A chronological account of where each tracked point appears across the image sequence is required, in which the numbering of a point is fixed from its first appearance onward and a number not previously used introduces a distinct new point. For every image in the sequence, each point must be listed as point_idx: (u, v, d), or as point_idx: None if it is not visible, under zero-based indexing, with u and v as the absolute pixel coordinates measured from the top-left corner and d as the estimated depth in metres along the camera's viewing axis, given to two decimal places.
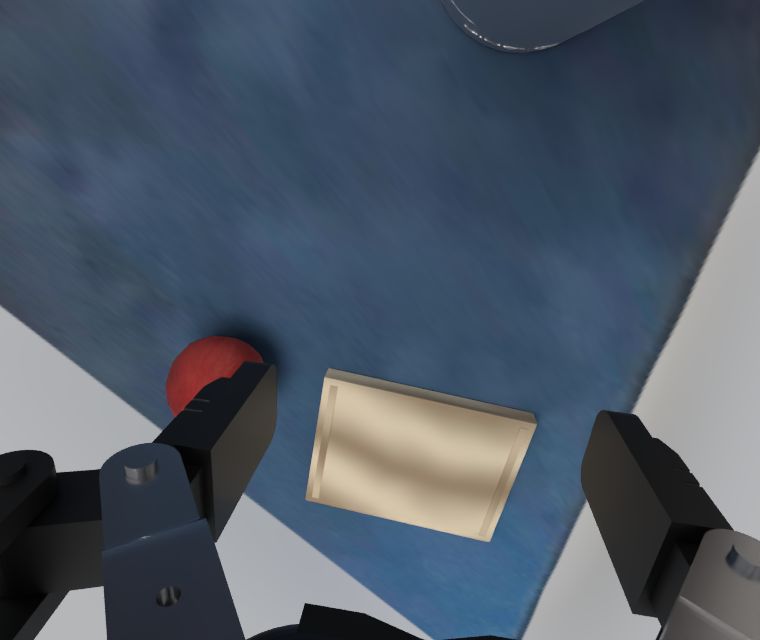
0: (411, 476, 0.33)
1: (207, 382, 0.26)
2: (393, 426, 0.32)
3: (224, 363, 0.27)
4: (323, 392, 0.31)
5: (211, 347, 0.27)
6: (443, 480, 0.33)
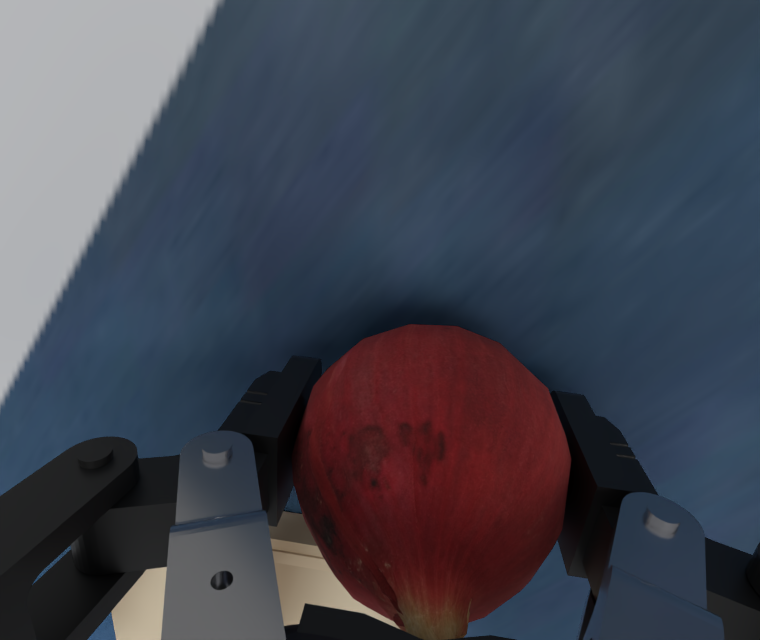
0: None
1: (523, 581, 0.08)
2: None
3: None
4: None
5: None
6: None
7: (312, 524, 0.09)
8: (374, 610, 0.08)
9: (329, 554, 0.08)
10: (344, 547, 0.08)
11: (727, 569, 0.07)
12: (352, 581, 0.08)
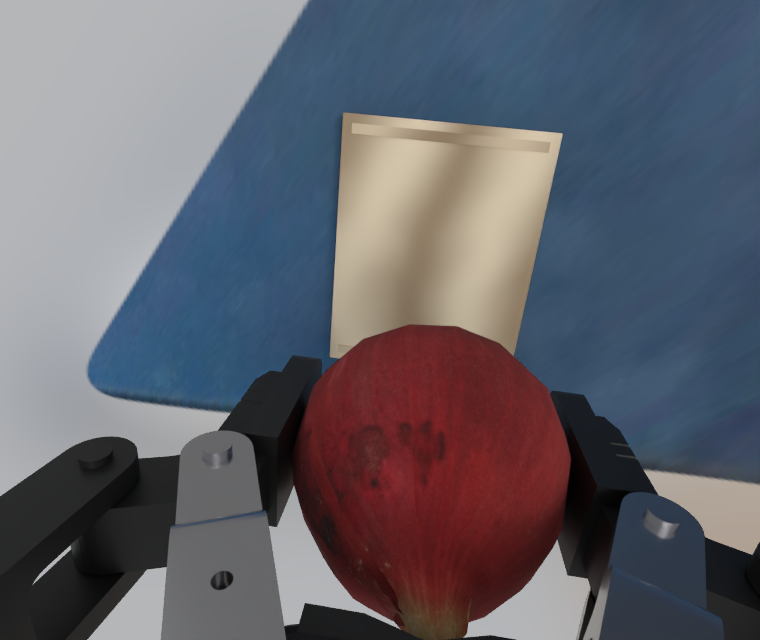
0: (414, 258, 0.27)
1: (523, 580, 0.08)
2: (490, 229, 0.26)
3: None
4: (537, 133, 0.24)
5: None
6: (415, 296, 0.27)
7: (312, 524, 0.09)
8: (374, 610, 0.08)
9: (329, 554, 0.08)
10: (345, 547, 0.08)
11: (727, 569, 0.07)
12: (352, 581, 0.08)
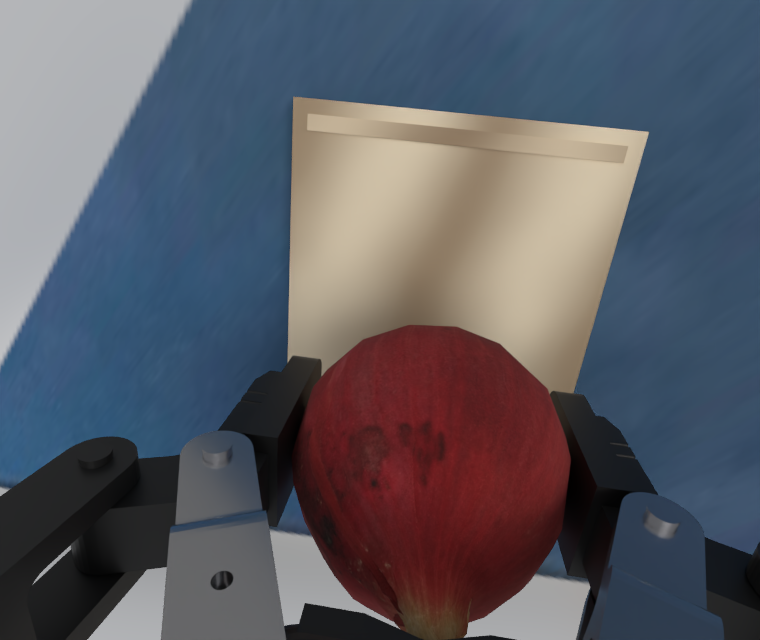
0: (407, 321, 0.18)
1: (523, 581, 0.08)
2: (525, 281, 0.16)
3: None
4: (607, 131, 0.14)
5: None
6: None
7: (312, 525, 0.09)
8: (374, 610, 0.08)
9: (329, 554, 0.08)
10: (345, 547, 0.08)
11: (727, 569, 0.07)
12: (352, 581, 0.08)
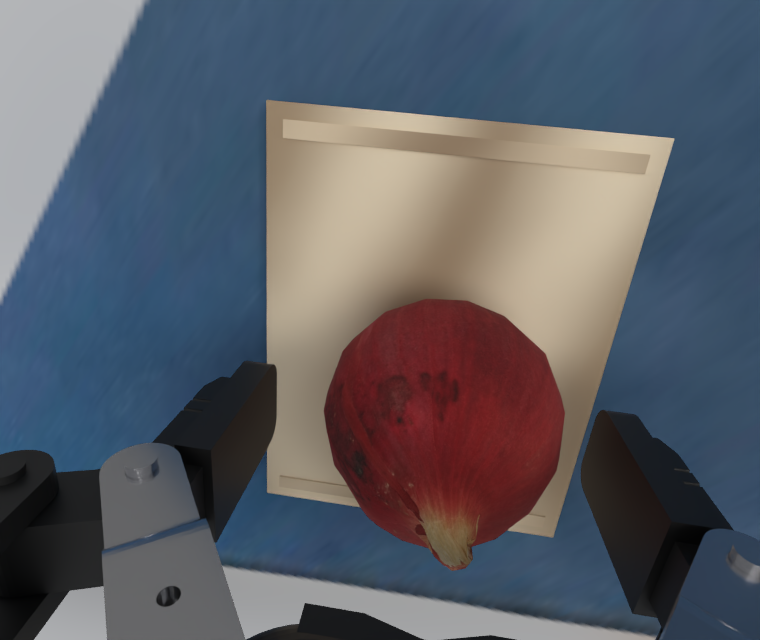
0: None
1: (523, 509, 0.10)
2: (532, 306, 0.15)
3: (541, 492, 0.11)
4: (626, 137, 0.13)
5: None
6: None
7: (345, 461, 0.10)
8: (397, 531, 0.10)
9: (360, 484, 0.10)
10: (374, 475, 0.09)
11: None
12: (379, 504, 0.10)
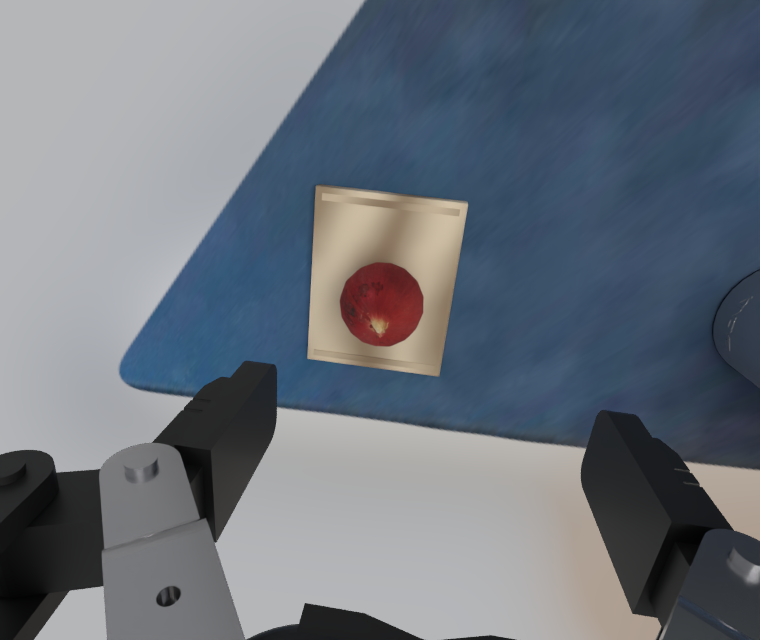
0: None
1: (404, 326, 0.31)
2: (421, 267, 0.36)
3: (414, 327, 0.32)
4: (451, 202, 0.34)
5: (422, 308, 0.32)
6: None
7: (348, 312, 0.31)
8: (364, 333, 0.31)
9: (353, 318, 0.31)
10: (357, 313, 0.30)
11: None
12: (359, 323, 0.31)
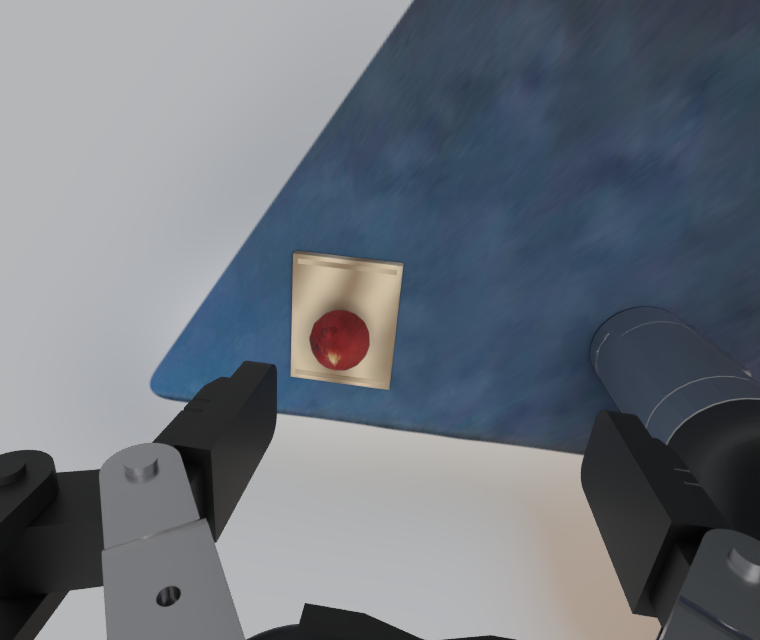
0: None
1: (353, 357, 0.44)
2: (372, 311, 0.49)
3: (362, 357, 0.45)
4: (390, 265, 0.47)
5: (367, 343, 0.45)
6: None
7: (313, 347, 0.44)
8: (325, 362, 0.44)
9: (316, 352, 0.44)
10: (319, 348, 0.43)
11: None
12: (321, 355, 0.44)
